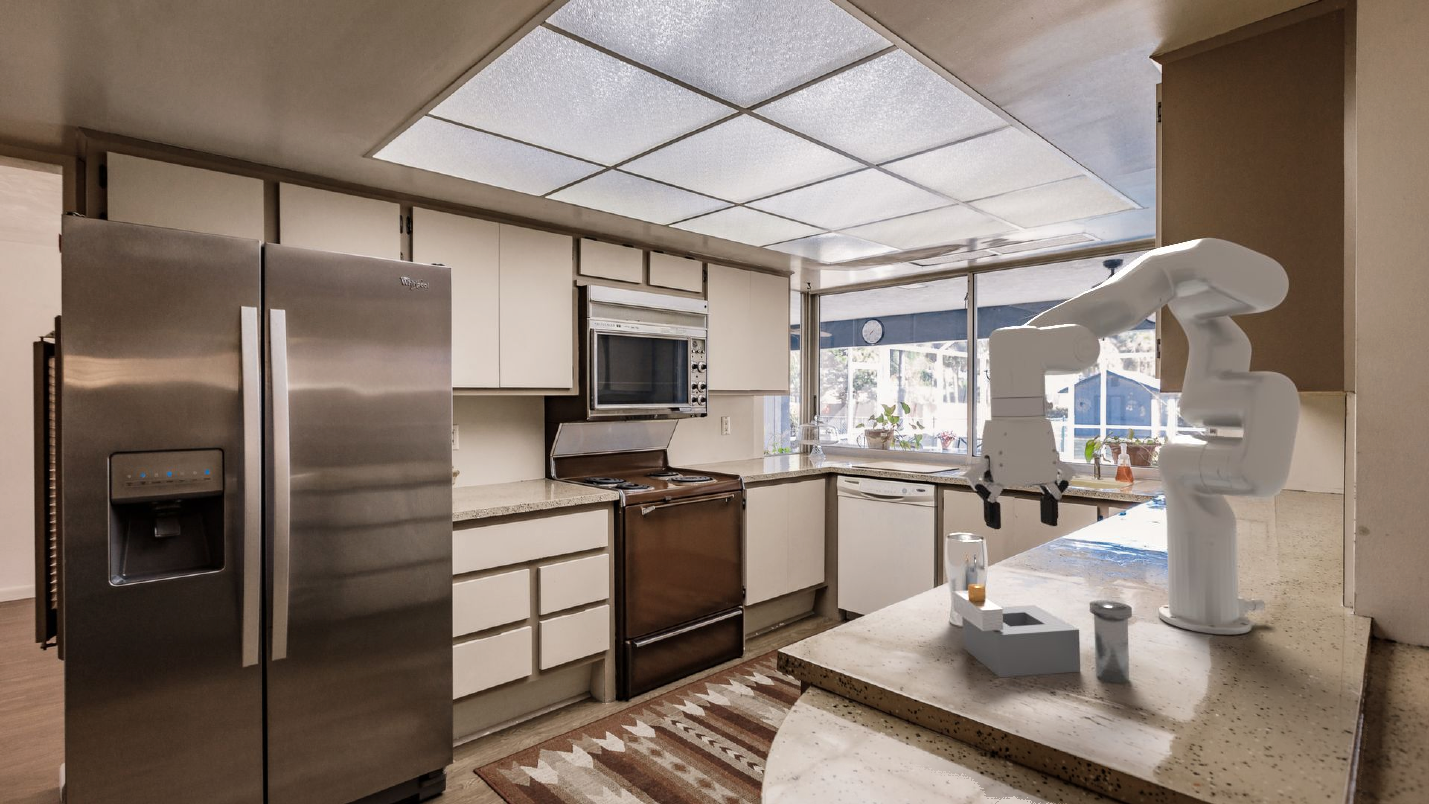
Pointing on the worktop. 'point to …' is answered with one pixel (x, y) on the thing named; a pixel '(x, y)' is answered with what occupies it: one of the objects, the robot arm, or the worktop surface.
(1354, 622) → the worktop surface
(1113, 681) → the grey capped cylinder
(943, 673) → the worktop surface
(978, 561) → the beer glass
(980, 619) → the bar
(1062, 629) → the block
